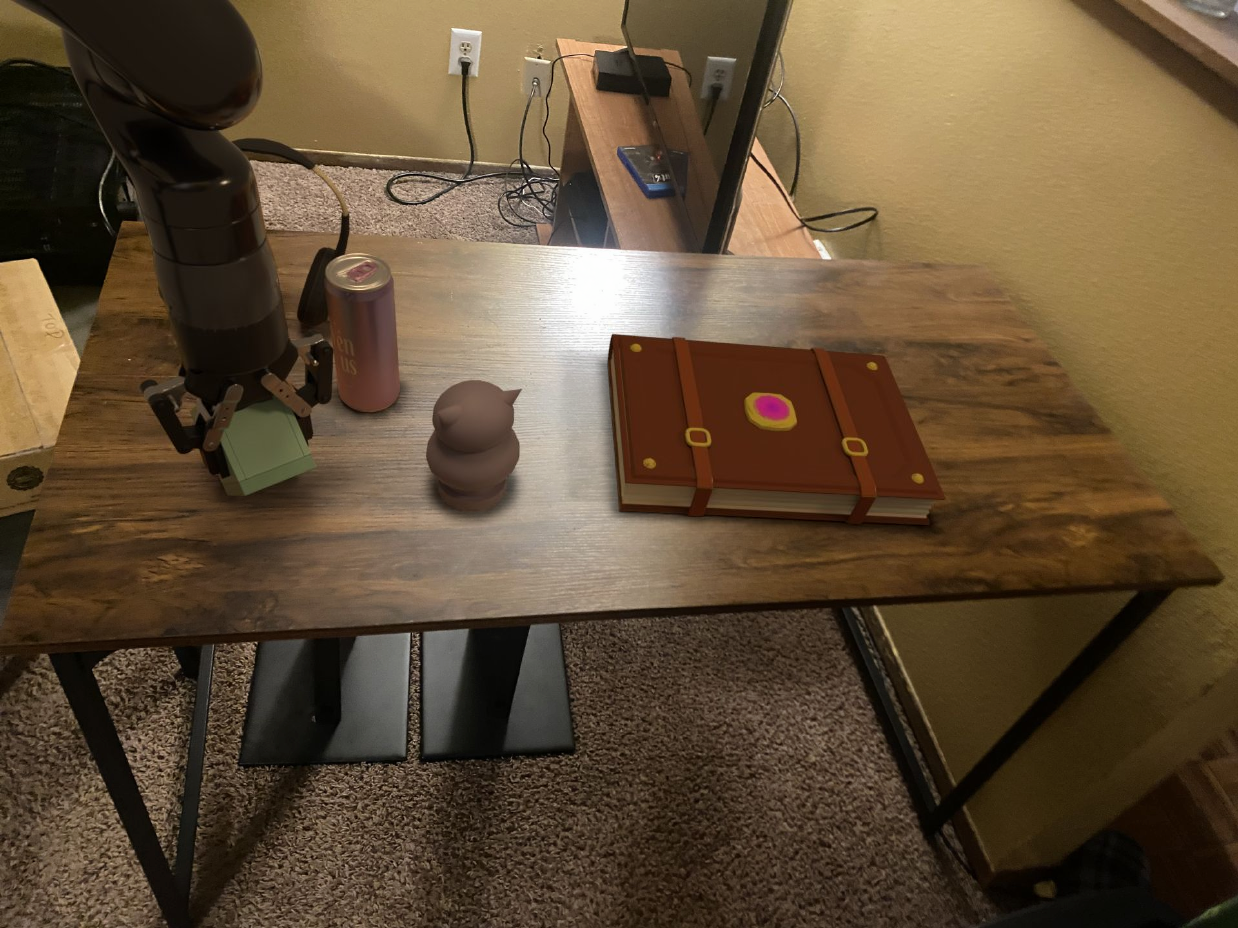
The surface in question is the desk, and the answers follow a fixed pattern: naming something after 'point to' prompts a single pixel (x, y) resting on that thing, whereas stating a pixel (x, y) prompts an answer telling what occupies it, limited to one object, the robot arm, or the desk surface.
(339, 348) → the beverage can
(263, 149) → the headphones
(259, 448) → the green open-top box
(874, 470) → the book
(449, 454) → the cat figurine
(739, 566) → the desk surface
